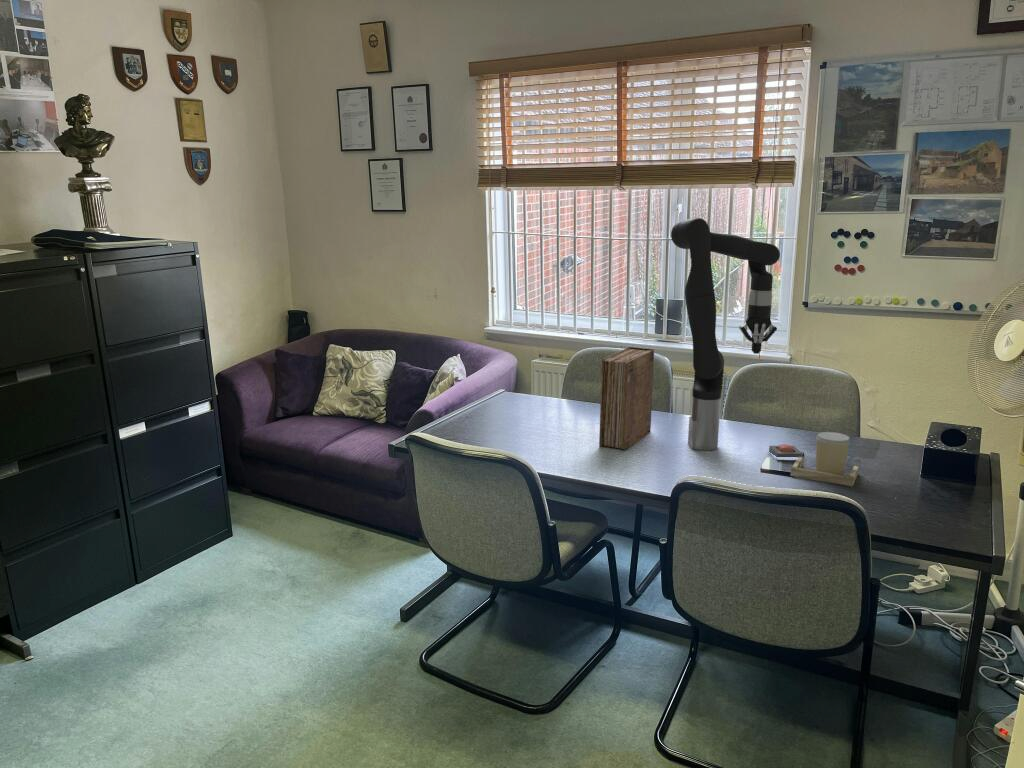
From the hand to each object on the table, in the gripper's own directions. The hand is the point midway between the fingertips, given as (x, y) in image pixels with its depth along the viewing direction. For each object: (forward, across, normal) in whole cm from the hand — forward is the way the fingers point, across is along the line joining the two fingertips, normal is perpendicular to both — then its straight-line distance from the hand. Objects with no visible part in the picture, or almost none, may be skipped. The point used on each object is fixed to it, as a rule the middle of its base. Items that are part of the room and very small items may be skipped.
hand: (756, 353), depth 263 cm
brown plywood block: (+29, -45, -7) cm, 54 cm away
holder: (+29, +10, -42) cm, 52 cm away
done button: (+29, +4, -25) cm, 38 cm away
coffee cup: (+29, +12, -41) cm, 52 cm away
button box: (+29, +4, -25) cm, 38 cm away
